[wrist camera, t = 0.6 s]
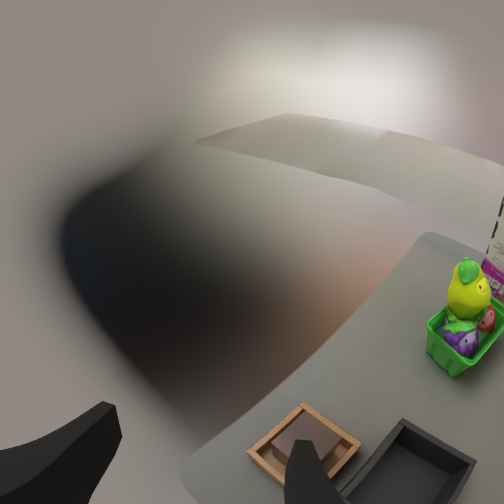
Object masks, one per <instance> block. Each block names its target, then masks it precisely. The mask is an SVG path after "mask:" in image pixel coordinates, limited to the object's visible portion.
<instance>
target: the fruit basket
mask: <svg viewBox="0 0 504 504" xmlns="http://www.w3.org/2000/svg"><path fill="white" fill-rule="evenodd" d="M447 302H448V305H446V306H445V307H444V308H443V309H442V310H440V311H439V312H438V313H437V314H435V315H434V316H433V317H432V318H431V319H429V320H428V323H427V330H428V338H427V348H426V352H427V353H428V354H429V355H431V356H433V359H434V360H435V361H436V362H437V363H438V364H439V365H440V366H441V367H442V368H443V369H444V370H446V371H448V374H449V375H450V376H451V377H455V376H456V375H458V374H459V373H461V372H462V371H463V370H465V369H466V368H468V367H471V366H473V365H474V364H476V362H477V361H478V360H479V359H480V358H481V357H482V355H483V354H484V353H485V352H486V351H487V349H488V348H489V347H490V346H491V345H492V343H493V342H494V341H495V340H496V339H497V337H498V336H499V335H500V334H501V332H502V331H503V330H504V306H503V305H502V304H501V303H500V302H498V301H497V300H496V299H495V298H494V297H493V296H491V289H490V286H489V283H488V281H487V279H486V277H485V276H484V274H483V272H482V269H481V267H480V266H479V265H478V264H477V263H476V262H475V261H473V260H469V258H468V257H464V258H463V262H461V263H460V264H458V265H457V266H456V267H455V269H454V273H453V278H452V281H451V283H450V285H449V288H448V292H447Z"/></svg>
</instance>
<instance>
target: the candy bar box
mask: <svg viewBox="0 0 504 504" xmlns="http://www.w3.org/2000/svg"><path fill="white" fill-rule="evenodd" d="M481 269H482V272H483V274H484V276H485V277H486V279H487V281H488V283H489V286H490V289H491V296H493V297H494V298H495V299H496V300H497V301H498V302H500V303H501V304H502V305H503V306H504V196H503V200H502V204H501V207H500V211H499V215H498V218H497V222H496V225H495V228H494V231H493V234H492V237H491V241H490V244H489V246H488V249H487V252H486V255H485V258H484V260H483V263H482V265H481Z"/></svg>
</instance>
